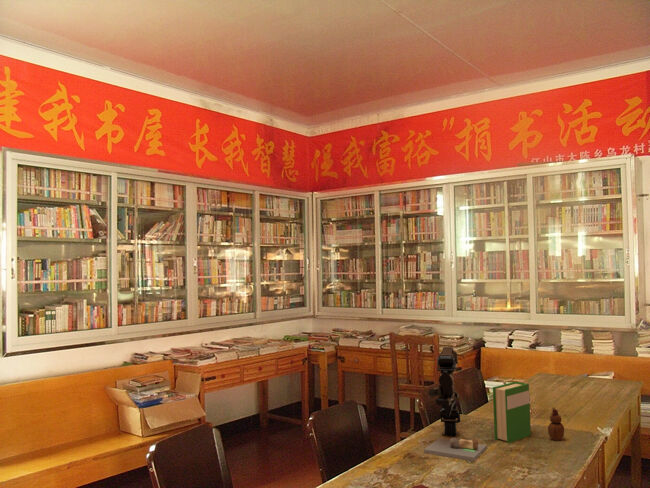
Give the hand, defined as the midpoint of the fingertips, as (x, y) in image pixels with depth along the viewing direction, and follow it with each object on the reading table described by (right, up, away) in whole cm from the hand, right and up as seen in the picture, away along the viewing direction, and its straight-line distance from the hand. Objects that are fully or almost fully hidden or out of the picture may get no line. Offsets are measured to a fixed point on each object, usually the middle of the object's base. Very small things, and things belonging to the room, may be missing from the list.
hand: (448, 416), depth 255 cm
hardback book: (+32, -12, +6) cm, 34 cm away
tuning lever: (+4, -9, -12) cm, 16 cm away
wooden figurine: (+50, -11, +1) cm, 51 cm away
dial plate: (+1, -12, -10) cm, 16 cm away
